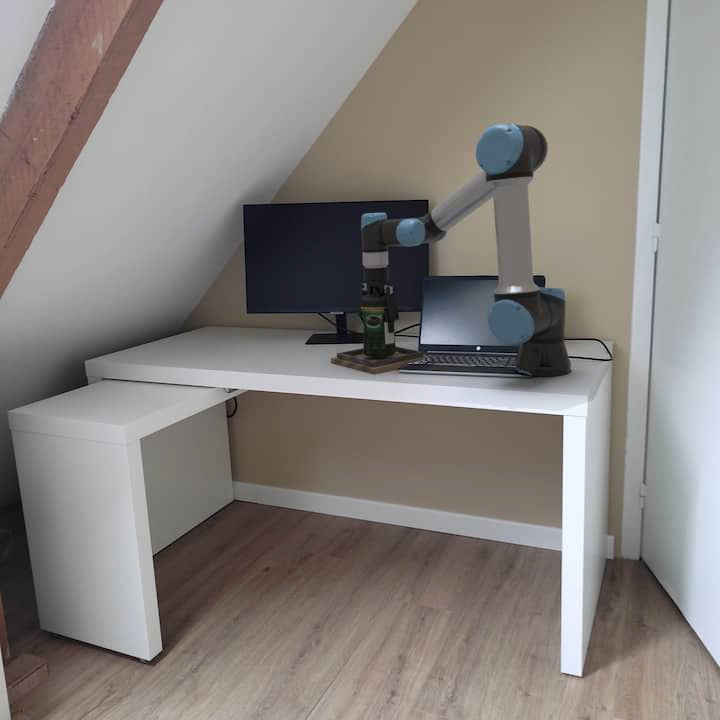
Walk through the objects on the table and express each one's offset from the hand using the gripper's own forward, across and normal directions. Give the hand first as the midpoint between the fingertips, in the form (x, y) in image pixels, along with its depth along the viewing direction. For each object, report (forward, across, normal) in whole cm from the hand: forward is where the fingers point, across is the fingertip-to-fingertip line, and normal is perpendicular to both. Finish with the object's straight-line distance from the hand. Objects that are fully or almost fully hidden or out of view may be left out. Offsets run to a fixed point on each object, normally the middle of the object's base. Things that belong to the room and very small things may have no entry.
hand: (379, 341), depth 220 cm
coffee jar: (+4, 0, 0) cm, 4 cm away
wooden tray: (+6, 0, 0) cm, 6 cm away
